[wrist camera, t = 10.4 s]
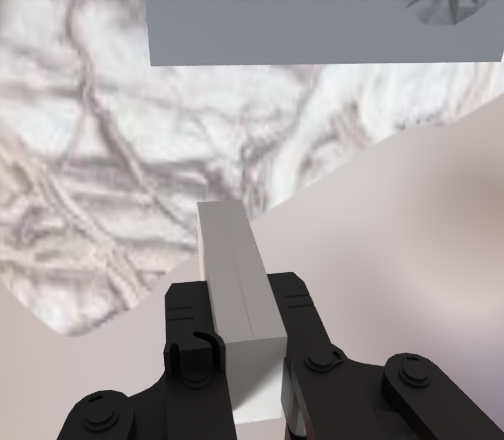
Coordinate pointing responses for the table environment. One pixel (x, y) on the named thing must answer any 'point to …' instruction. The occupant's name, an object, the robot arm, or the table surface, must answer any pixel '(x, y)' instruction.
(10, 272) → the table surface
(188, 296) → the robot arm
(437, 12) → the grey flat block
